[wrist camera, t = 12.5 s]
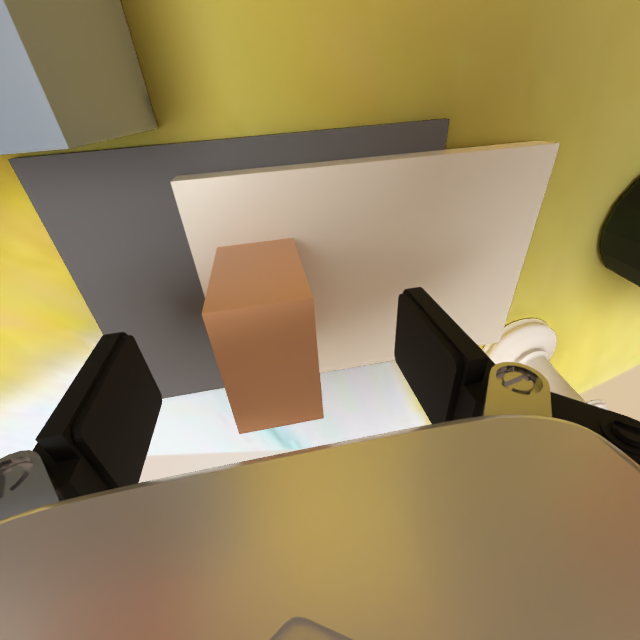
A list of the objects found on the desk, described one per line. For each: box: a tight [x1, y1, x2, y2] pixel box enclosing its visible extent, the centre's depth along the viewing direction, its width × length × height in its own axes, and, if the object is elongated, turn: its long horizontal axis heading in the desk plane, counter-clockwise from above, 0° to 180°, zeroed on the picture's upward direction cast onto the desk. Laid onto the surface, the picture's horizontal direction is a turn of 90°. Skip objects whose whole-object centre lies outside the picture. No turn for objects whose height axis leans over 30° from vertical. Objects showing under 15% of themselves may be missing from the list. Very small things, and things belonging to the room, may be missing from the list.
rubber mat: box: [8, 119, 449, 399], centre depth 15 cm, size 16×12×1 cm
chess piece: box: [483, 318, 609, 410], centre depth 17 cm, size 5×5×10 cm
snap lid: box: [170, 141, 560, 434], centre depth 13 cm, size 15×10×6 cm, turn 94°
